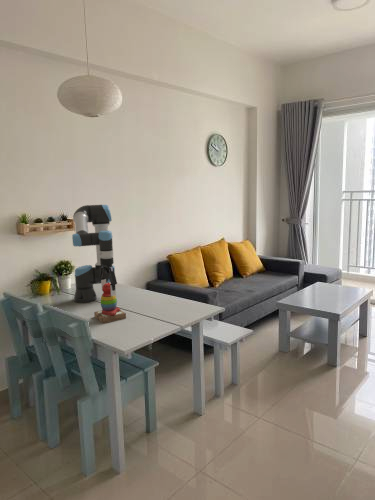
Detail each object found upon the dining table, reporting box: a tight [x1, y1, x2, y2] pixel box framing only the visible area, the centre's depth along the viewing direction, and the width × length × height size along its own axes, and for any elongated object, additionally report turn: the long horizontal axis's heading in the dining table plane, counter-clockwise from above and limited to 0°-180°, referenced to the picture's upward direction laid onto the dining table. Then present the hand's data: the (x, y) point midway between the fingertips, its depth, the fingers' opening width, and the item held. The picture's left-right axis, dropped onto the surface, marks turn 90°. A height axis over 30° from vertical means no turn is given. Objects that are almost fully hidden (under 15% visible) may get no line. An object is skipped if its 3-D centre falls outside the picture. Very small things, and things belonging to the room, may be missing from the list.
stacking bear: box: [100, 282, 121, 316], centre depth 226 cm, size 11×10×18 cm
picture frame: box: [94, 309, 127, 324], centre depth 228 cm, size 14×14×3 cm
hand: (108, 292), depth 226 cm, fingers open, 13 cm apart
